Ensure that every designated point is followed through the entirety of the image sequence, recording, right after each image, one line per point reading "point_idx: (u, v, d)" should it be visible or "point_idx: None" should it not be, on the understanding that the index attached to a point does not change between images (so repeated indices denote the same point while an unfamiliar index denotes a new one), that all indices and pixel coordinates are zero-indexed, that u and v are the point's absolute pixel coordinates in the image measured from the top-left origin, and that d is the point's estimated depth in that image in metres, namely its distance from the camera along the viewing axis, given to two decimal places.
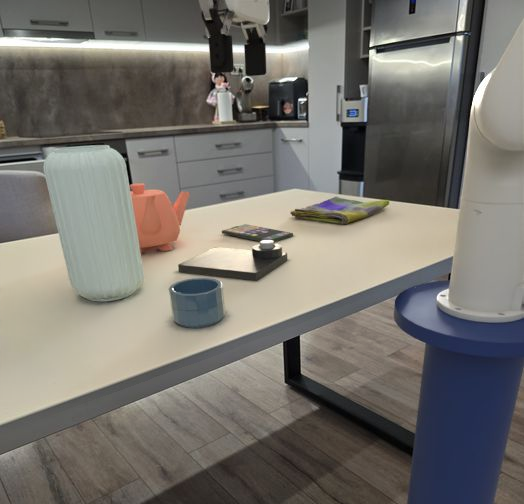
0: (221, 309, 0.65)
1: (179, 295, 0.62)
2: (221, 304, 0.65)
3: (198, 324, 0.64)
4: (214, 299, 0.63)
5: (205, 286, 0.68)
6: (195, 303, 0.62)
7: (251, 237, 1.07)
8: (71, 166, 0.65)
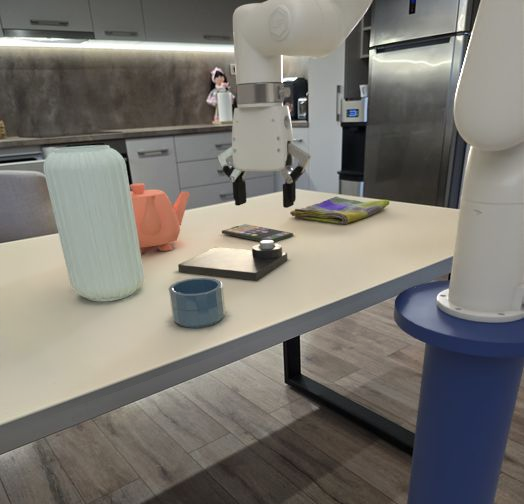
0: (221, 309, 0.65)
1: (179, 295, 0.62)
2: (221, 304, 0.65)
3: (198, 324, 0.64)
4: (214, 299, 0.63)
5: (205, 286, 0.68)
6: (195, 303, 0.62)
7: (251, 237, 1.07)
8: (71, 166, 0.65)
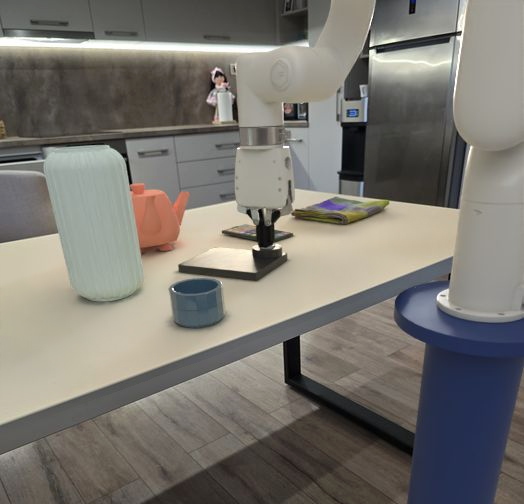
0: (221, 309, 0.65)
1: (179, 295, 0.62)
2: (221, 304, 0.65)
3: (198, 324, 0.64)
4: (214, 299, 0.63)
5: (205, 286, 0.68)
6: (195, 303, 0.62)
7: (251, 237, 1.07)
8: (71, 166, 0.65)
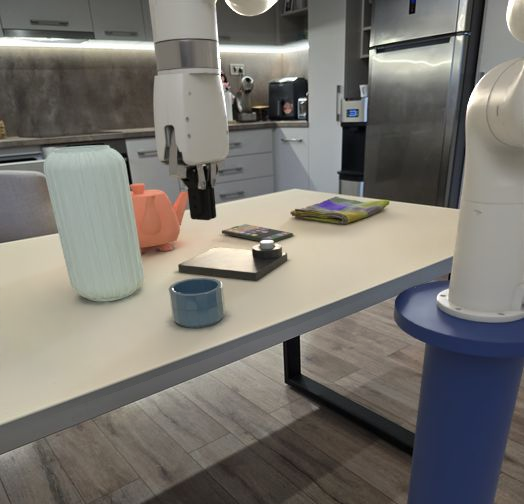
0: (221, 309, 0.65)
1: (179, 295, 0.62)
2: (221, 304, 0.65)
3: (198, 324, 0.64)
4: (214, 299, 0.63)
5: (205, 286, 0.68)
6: (195, 303, 0.62)
7: (251, 237, 1.07)
8: (71, 166, 0.65)
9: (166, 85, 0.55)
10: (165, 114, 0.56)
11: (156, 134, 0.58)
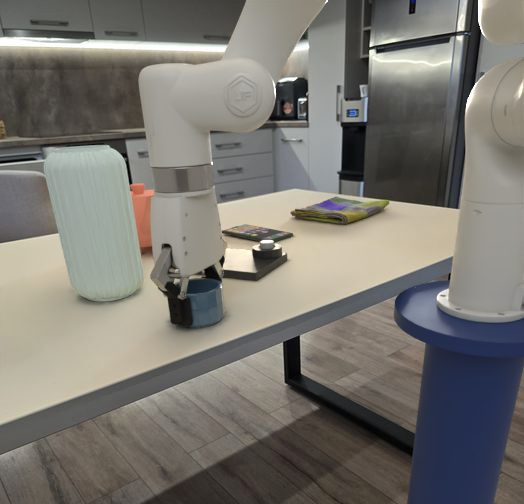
0: (221, 309, 0.65)
1: None
2: (221, 304, 0.65)
3: (198, 324, 0.64)
4: (214, 299, 0.63)
5: (205, 286, 0.68)
6: (195, 303, 0.62)
7: (251, 237, 1.07)
8: (71, 166, 0.65)
9: (163, 208, 0.56)
10: (162, 233, 0.58)
11: (153, 250, 0.59)
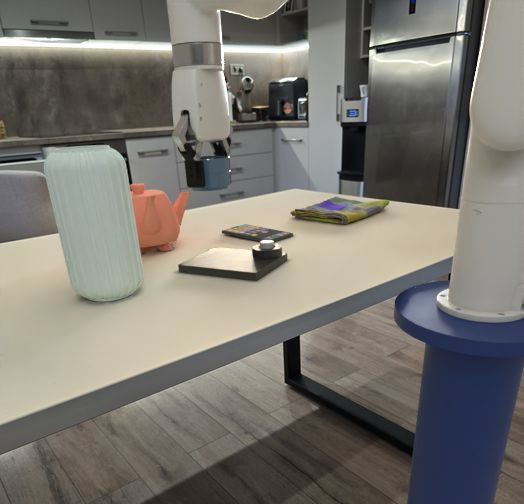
0: (228, 177, 0.78)
1: None
2: (228, 172, 0.78)
3: (209, 187, 0.77)
4: (223, 165, 0.76)
5: None
6: (207, 167, 0.75)
7: (251, 237, 1.07)
8: (71, 166, 0.65)
9: (182, 78, 0.70)
10: (182, 101, 0.71)
11: (174, 117, 0.72)
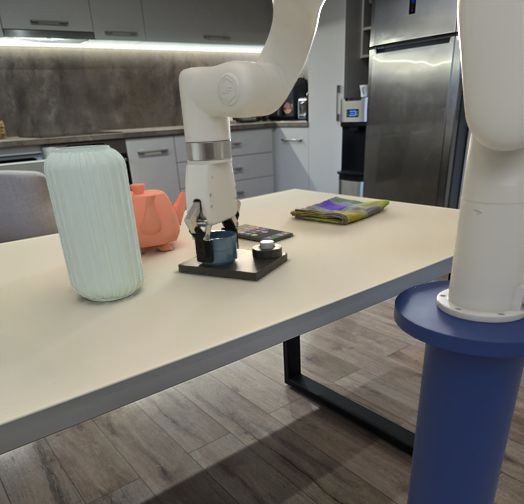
0: (235, 252, 0.86)
1: None
2: (235, 248, 0.86)
3: (218, 262, 0.85)
4: (230, 243, 0.84)
5: (222, 236, 0.89)
6: (216, 246, 0.83)
7: (251, 237, 1.07)
8: (71, 166, 0.65)
9: (195, 172, 0.77)
10: (194, 191, 0.79)
11: (187, 204, 0.80)
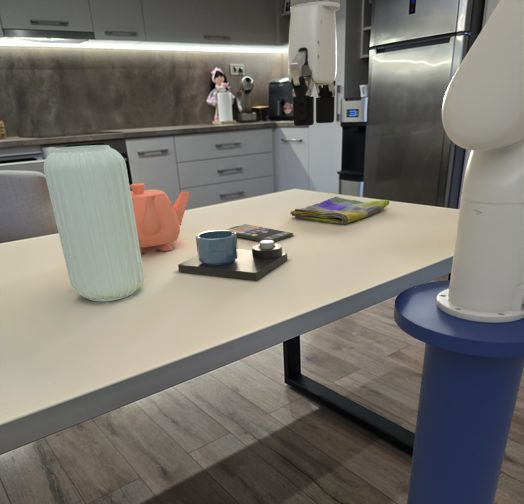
0: (235, 252, 0.86)
1: (204, 239, 0.83)
2: (235, 248, 0.86)
3: (218, 262, 0.85)
4: (230, 243, 0.84)
5: (223, 236, 0.89)
6: (216, 246, 0.83)
7: (251, 237, 1.07)
8: (71, 166, 0.65)
9: (303, 15, 0.70)
10: (300, 38, 0.71)
11: (290, 56, 0.73)
